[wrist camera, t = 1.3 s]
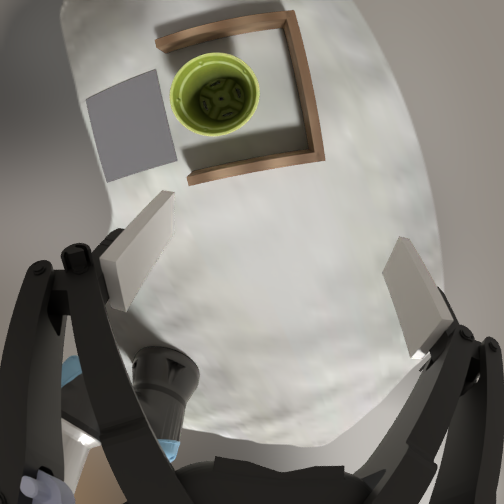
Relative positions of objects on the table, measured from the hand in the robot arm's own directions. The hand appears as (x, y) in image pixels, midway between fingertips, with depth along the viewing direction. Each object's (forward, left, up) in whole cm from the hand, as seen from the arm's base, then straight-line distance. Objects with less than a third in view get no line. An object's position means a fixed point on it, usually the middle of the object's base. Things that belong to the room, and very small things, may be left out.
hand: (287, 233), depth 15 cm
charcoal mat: (-18, +10, -24) cm, 32 cm away
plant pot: (-4, +10, -24) cm, 27 cm away
